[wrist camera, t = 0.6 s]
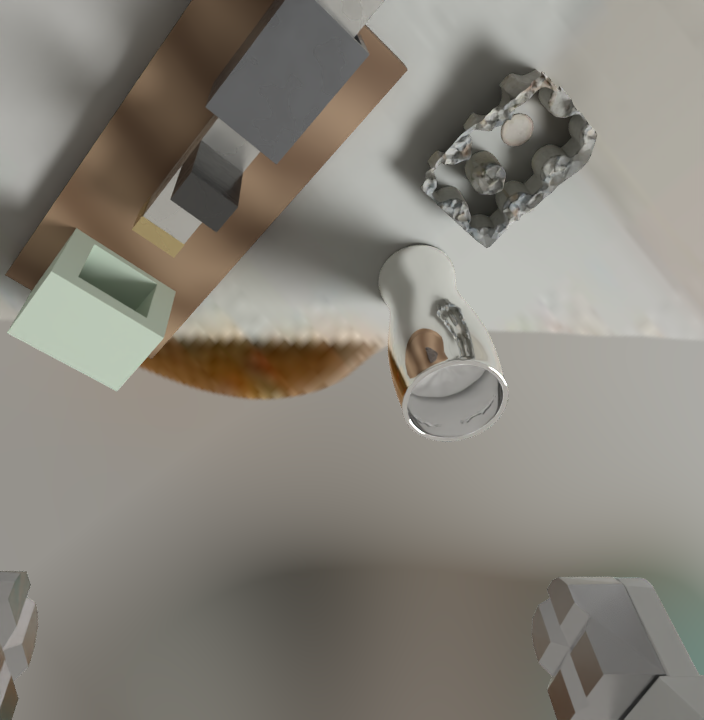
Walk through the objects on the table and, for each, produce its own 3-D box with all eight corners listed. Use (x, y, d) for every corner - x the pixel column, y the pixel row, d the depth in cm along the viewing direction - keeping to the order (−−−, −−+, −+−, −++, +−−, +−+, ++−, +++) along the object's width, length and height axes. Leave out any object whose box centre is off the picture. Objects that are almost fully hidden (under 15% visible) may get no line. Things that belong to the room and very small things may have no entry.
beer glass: (357, 262, 50) (379, 387, 38) (441, 223, 48) (491, 339, 37) (393, 328, 54) (424, 458, 42) (471, 293, 52) (526, 418, 41)
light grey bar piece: (352, -70, 35) (366, -55, 28) (392, -26, 36) (415, -2, 30) (140, 209, 43) (115, 268, 37) (180, 236, 45) (162, 298, 38)
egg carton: (528, 48, 42) (549, 64, 39) (590, 129, 45) (614, 149, 42) (407, 167, 46) (416, 189, 43) (472, 232, 49) (485, 258, 46)
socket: (81, 218, 46) (51, 271, 40) (178, 281, 50) (163, 338, 44) (41, 275, 48) (6, 332, 42) (136, 331, 52) (116, 391, 46)
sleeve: (296, -30, 36) (297, -17, 33) (361, 35, 39) (369, 54, 35) (213, 82, 40) (205, 106, 36) (277, 136, 42) (276, 164, 38)
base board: (253, -90, 36) (252, -88, 35) (404, 63, 41) (407, 69, 40) (12, 264, 48) (5, 275, 46) (154, 347, 53) (151, 359, 52)
